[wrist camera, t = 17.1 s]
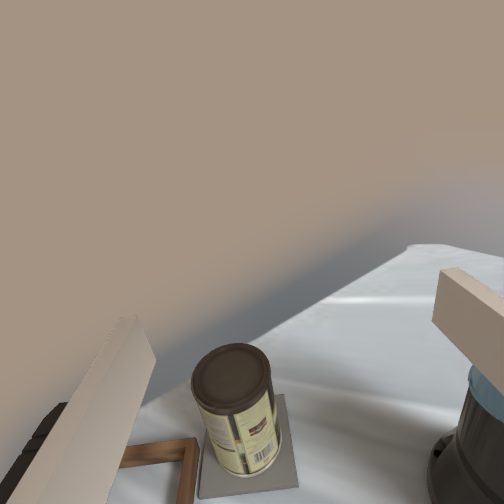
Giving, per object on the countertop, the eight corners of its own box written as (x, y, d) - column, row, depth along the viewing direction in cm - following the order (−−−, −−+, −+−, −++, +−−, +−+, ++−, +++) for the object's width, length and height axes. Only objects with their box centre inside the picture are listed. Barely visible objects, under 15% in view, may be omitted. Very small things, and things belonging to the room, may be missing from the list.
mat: (284, 396, 47) (283, 393, 47) (298, 487, 35) (298, 484, 35) (209, 406, 48) (209, 404, 47) (199, 499, 36) (198, 497, 36)
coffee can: (237, 397, 48) (220, 335, 42) (292, 421, 43) (283, 354, 37) (199, 456, 40) (173, 391, 34) (261, 495, 35) (243, 425, 29)
